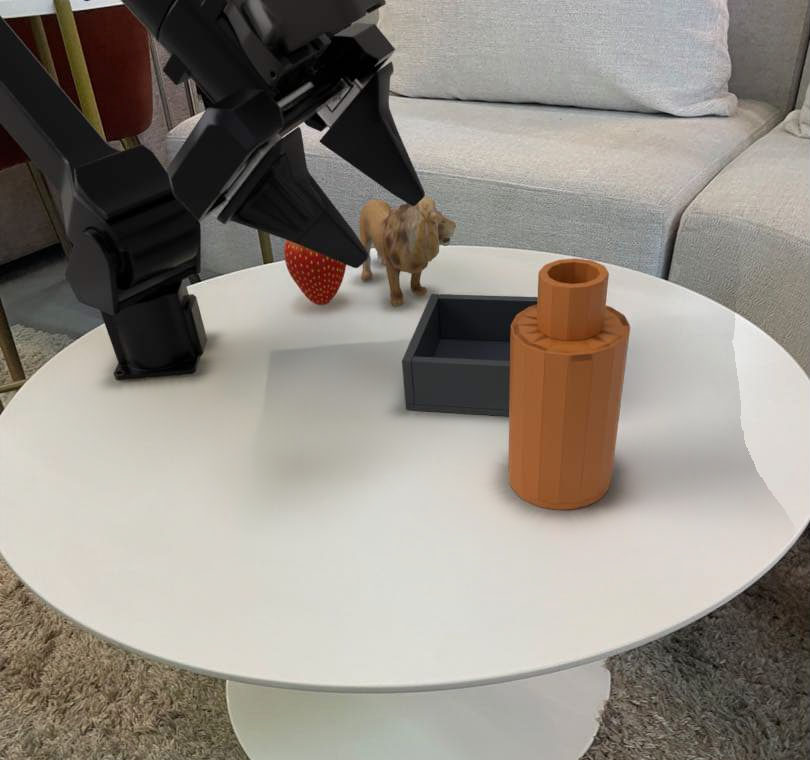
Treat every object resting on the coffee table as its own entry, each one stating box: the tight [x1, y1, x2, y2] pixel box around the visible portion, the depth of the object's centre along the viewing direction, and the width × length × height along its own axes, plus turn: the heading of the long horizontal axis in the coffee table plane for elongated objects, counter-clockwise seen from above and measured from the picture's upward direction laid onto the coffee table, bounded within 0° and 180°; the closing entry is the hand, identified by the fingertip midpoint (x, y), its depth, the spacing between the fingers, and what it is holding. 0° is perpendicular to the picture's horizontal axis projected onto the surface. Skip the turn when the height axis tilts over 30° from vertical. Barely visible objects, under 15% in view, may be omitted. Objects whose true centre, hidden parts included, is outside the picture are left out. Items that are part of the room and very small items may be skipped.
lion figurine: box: [358, 197, 457, 307], centre depth 71 cm, size 15×5×9 cm, turn 33°
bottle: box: [507, 257, 631, 511], centre depth 46 cm, size 6×6×14 cm
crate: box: [401, 293, 538, 417], centre depth 59 cm, size 10×10×4 cm
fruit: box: [283, 240, 347, 306], centre depth 69 cm, size 5×5×8 cm
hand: (393, 229), depth 48 cm, fingers open, 9 cm apart
